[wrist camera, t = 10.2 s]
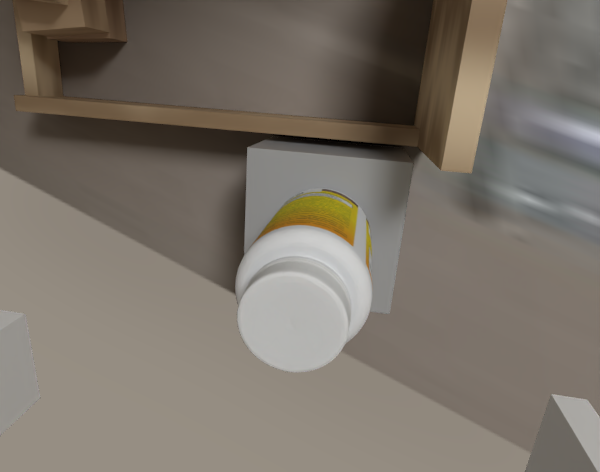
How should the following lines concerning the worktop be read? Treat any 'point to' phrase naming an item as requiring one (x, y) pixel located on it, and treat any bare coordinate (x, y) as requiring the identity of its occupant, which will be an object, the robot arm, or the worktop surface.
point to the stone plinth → (340, 177)
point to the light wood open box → (424, 134)
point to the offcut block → (55, 1)
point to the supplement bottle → (306, 281)
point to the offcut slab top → (63, 17)
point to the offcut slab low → (114, 21)
